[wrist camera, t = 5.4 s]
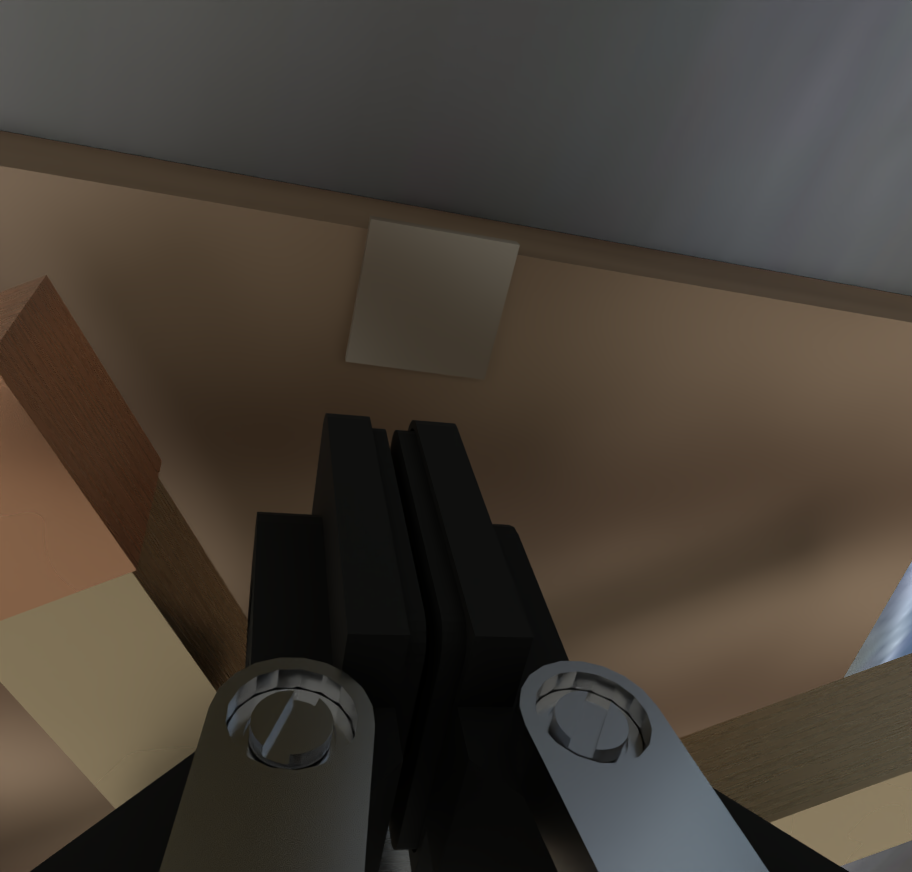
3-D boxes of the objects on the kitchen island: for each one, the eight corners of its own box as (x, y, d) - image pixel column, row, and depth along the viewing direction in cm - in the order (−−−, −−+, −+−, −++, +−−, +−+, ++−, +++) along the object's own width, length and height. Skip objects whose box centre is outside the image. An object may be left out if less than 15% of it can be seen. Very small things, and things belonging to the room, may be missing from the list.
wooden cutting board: (-401, 43, 12) (-524, 62, 10) (972, 298, 18) (1049, 338, 16) (-205, 912, 21) (-251, 1004, 19) (660, 884, 27) (687, 952, 26)
